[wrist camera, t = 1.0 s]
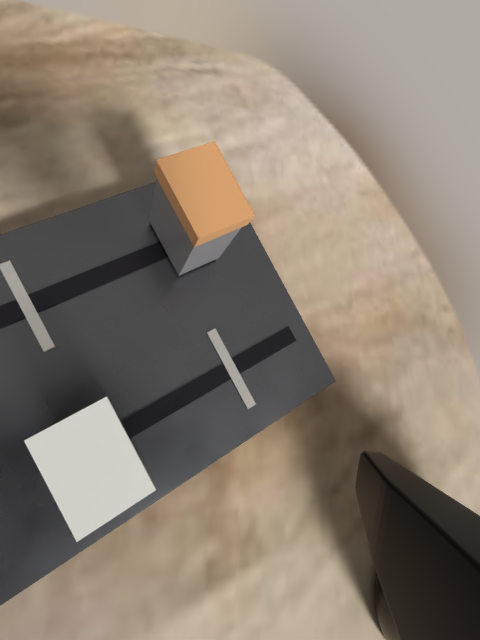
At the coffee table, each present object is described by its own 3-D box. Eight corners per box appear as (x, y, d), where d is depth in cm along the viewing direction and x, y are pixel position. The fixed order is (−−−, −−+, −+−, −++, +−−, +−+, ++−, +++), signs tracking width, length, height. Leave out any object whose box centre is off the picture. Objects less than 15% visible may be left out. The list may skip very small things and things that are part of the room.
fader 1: (88, 497, 16) (76, 542, 11) (51, 426, 16) (24, 440, 11) (144, 462, 17) (155, 490, 12) (109, 395, 17) (106, 396, 12)
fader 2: (177, 278, 19) (198, 238, 14) (146, 219, 19) (156, 159, 14) (221, 258, 20) (254, 215, 15) (191, 202, 20) (214, 141, 15)
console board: (2, 594, 16) (-8, 611, 15) (-150, 299, 16) (-172, 292, 15) (324, 381, 22) (336, 380, 21) (211, 173, 22) (217, 160, 21)
